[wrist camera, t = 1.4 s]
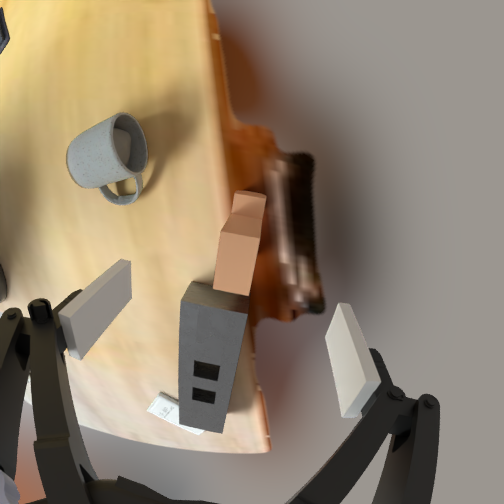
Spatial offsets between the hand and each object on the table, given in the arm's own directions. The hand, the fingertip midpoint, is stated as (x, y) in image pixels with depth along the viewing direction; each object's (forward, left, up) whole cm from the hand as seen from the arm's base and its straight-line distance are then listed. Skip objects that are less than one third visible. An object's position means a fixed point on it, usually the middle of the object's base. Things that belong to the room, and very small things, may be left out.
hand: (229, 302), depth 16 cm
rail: (-2, -23, -18) cm, 29 cm away
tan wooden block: (0, 0, -18) cm, 18 cm away
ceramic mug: (-17, +6, -18) cm, 25 cm away
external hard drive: (-7, -41, -18) cm, 46 cm away
